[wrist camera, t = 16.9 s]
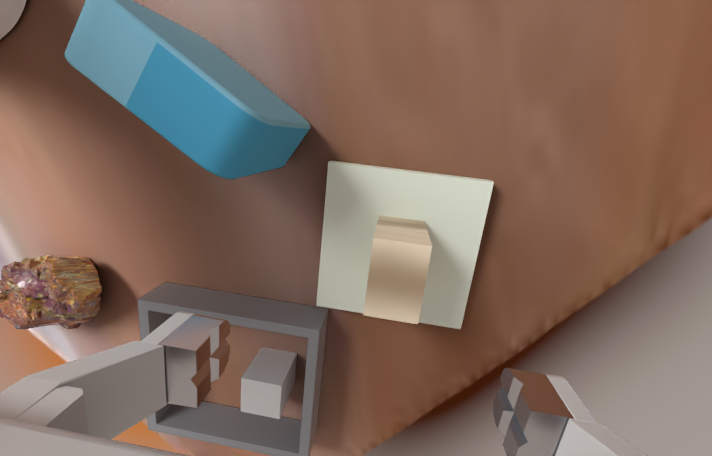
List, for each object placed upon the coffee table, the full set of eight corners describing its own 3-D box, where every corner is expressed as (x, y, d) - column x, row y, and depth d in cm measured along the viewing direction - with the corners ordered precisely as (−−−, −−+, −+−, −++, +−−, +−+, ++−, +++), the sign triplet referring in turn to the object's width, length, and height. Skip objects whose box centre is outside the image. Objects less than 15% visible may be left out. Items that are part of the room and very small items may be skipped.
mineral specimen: (65, 353, 38) (-21, 365, 32) (56, 296, 41) (-23, 298, 35) (121, 296, 35) (37, 297, 29) (108, 238, 38) (29, 229, 32)
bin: (172, 401, 40) (148, 429, 36) (165, 282, 36) (137, 299, 32) (316, 430, 38) (307, 462, 34) (328, 308, 34) (319, 330, 30)
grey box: (260, 376, 37) (240, 411, 33) (262, 346, 36) (241, 378, 31) (294, 382, 37) (279, 419, 32) (297, 352, 36) (281, 385, 31)
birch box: (379, 214, 29) (373, 237, 22) (424, 221, 29) (432, 246, 22) (370, 278, 31) (362, 317, 24) (413, 285, 30) (417, 326, 24)
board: (319, 298, 34) (316, 305, 32) (331, 160, 30) (328, 161, 28) (457, 320, 32) (460, 329, 31) (489, 179, 29) (494, 182, 27)
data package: (182, 83, 30) (46, 48, 18) (206, 38, 28) (76, -30, 17) (287, 167, 31) (221, 184, 19) (315, 127, 29) (262, 119, 18)
